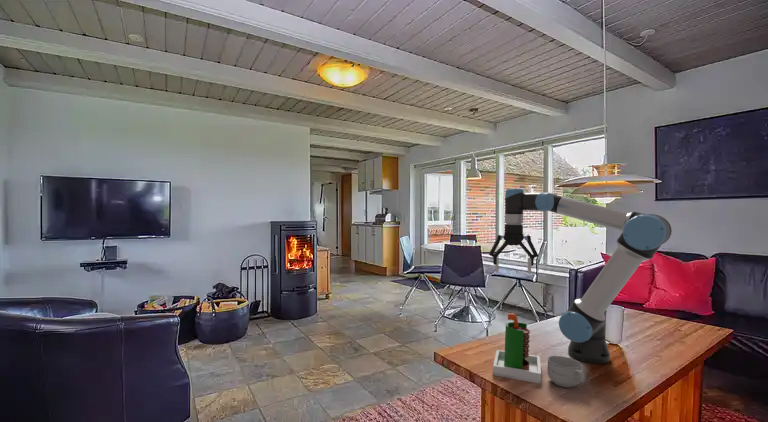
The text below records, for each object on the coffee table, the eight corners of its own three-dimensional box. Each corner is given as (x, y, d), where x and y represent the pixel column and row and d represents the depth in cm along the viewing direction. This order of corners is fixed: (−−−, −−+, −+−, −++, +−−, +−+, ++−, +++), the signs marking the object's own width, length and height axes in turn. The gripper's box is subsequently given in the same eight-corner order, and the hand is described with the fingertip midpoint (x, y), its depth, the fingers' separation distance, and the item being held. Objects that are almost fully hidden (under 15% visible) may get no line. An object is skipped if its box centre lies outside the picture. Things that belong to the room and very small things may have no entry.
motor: (531, 374, 134) (532, 319, 134) (505, 372, 136) (506, 317, 136) (527, 363, 144) (528, 311, 144) (502, 360, 146) (504, 309, 145)
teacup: (541, 376, 135) (541, 354, 135) (569, 375, 136) (570, 354, 136) (562, 396, 121) (563, 372, 121) (594, 395, 122) (595, 371, 122)
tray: (539, 365, 144) (539, 356, 144) (540, 383, 130) (540, 373, 129) (496, 358, 150) (496, 349, 150) (492, 375, 135) (493, 365, 135)
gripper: (541, 224, 164) (540, 272, 165) (483, 223, 167) (482, 270, 167) (546, 224, 157) (545, 275, 157) (485, 223, 160) (485, 273, 160)
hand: (513, 272), depth 162 cm, fingers open, 13 cm apart
